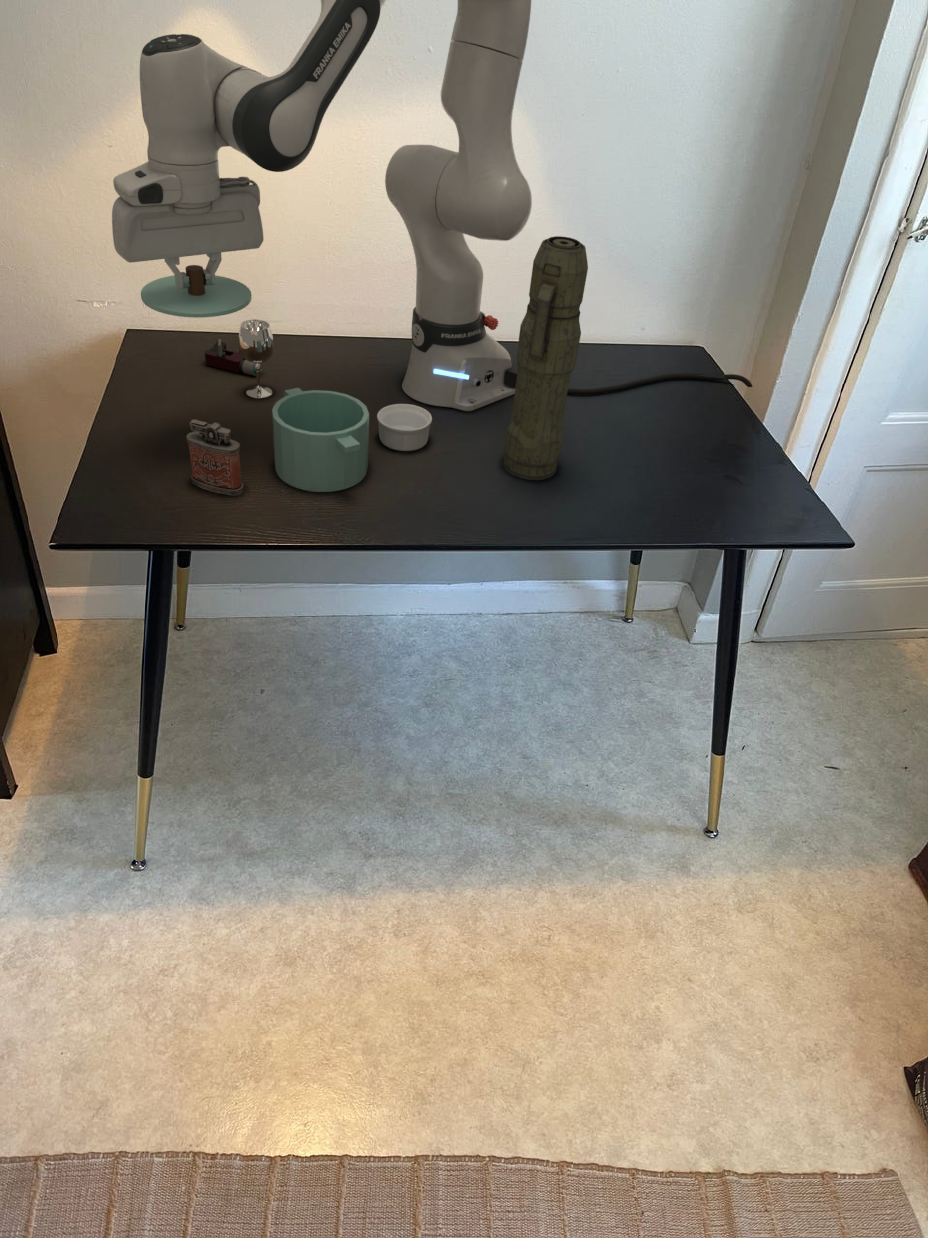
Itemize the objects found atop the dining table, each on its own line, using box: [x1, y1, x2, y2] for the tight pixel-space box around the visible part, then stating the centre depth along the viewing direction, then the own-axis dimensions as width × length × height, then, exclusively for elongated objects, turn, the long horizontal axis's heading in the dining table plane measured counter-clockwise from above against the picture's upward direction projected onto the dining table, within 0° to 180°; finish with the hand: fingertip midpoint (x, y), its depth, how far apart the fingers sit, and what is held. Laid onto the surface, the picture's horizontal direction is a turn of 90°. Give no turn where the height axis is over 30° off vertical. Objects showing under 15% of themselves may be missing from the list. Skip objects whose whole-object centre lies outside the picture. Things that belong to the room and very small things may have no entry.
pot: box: [271, 387, 370, 493], centre depth 136 cm, size 14×19×10 cm
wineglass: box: [238, 319, 275, 399], centre depth 152 cm, size 6×6×12 cm
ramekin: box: [376, 403, 433, 452], centre depth 146 cm, size 9×9×4 cm
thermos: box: [502, 235, 589, 481], centre depth 134 cm, size 9×12×35 cm
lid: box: [140, 264, 253, 319], centre depth 128 cm, size 15×15×5 cm
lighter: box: [186, 419, 244, 496], centre depth 129 cm, size 8×3×10 cm, turn 71°
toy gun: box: [203, 338, 263, 377], centre depth 163 cm, size 10×12×5 cm
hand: (195, 285), depth 128 cm, fingers closed on lid, 2 cm apart
